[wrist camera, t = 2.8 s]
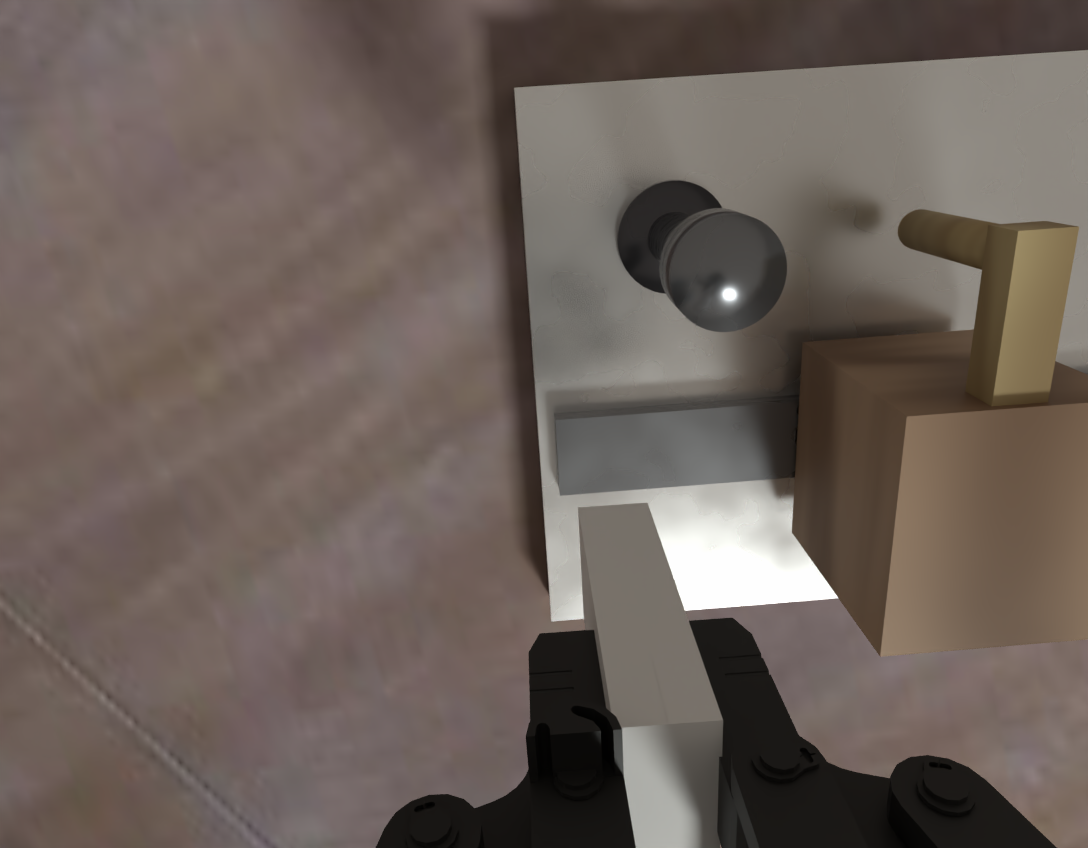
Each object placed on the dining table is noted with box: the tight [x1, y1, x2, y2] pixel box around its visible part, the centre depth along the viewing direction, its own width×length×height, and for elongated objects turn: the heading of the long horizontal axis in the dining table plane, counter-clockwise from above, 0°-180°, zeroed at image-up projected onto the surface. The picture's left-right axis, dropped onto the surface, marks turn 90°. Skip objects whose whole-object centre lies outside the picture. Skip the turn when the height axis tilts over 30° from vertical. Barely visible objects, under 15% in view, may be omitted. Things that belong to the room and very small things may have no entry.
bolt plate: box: [514, 50, 1088, 621], centre depth 21 cm, size 26×16×7 cm, turn 93°
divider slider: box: [792, 209, 1088, 657], centre depth 19 cm, size 5×10×6 cm, turn 3°
